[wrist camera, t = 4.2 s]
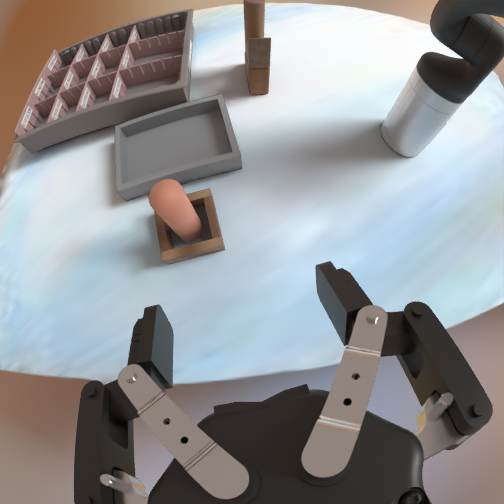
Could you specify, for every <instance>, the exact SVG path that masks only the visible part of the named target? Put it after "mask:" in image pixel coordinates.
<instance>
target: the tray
mask: <svg viewBox="0 0 504 504" xmlns="http://www.w3.org/2000/svg"><path fill="white" fill-rule="evenodd" d="M115 168H116V191H117V193H118V194H119V195H121V196H122V197H123V198H124V199H125V200H126V201H129V200H132V199H135V198H138V197H141V196H144V195H147V194H150V191H151V189H152V188H153V186H154V185H155V184H156V183H158V182H159V181H162V180H165V179H173V180H175V181H177V182H178V183H179V184H180V185H181V184H184V183H188V182H191V181H195V180H199V179H202V178H206V177H210V176H214V175H218V174H222V173H226V172H230V171H234V170H238V169H242V163H241V155H240V151H239V148H238V145H237V141H236V138H235V134H234V131H233V128H232V124H231V121H230V118H229V114H228V111H227V108H226V104H225V101H224V98H223V95H222V94H219V95H215V96H211V97H206V98H202V99H198V100H194V101H191V102H187V103H183V104H180V105H176V106H173V107H169V108H166V109H163V110H160V111H156V112H153V113H150V114H147V115H144V116H141V117H139V118H136V119H133V120H130V121H127V122H125V123H122V124H119V125H117V126H115Z"/></svg>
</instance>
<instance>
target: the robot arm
mask: <svg viewBox="0 0 504 504" xmlns="http://www.w3.org/2000/svg"><path fill="white" fill-rule="evenodd" d="M490 15H494V16H499V17H503V18H504V0H439V1H438V3H437V4H436V6H435V8H434V10H433V12H432V15H431V20H430V27H431V31H432V33H433V35H434V36H435V37H436V38H437V39H438V40H439V41H440V42H441V43H443V44H444V45H445V46H447V47H449V48H450V49H451V50H453V51H454V52H455V53H457V54H458V55H460V56H461V57H462V58H464V59H459V58H453V57H449V56H445V55H443V54H439V53H435V52H427V53H425V54H423V55H422V57H421V58H420V60H419V62H418V64H417V65H416V67H415V69H414V71H413V73H412V74H411V76H410V78H409V80H408V82H407V83H406V85H405V87H404V88H403V90H402V92H401V94H400V95H399V97H398V99H397V100H396V102H395V104H394V106H393V107H392V109H391V111H390V112H389V114H388V116H387V117H386V119H385V121H384V122H383V124H382V127H381V132H382V136H383V138H384V140H385V142H386V143H387V144H388V145H389V147H390V148H392V149H393V150H394V151H395V152H397V153H398V154H400V155H403V156H406V157H414V156H416V155H418V154H419V153H420V152H421V150H422V149H424V148H425V147H426V146H427V145H428V144H429V143H430V142H431V141H432V139H433V138H434V137H435V136H436V135H437V134H438V133H439V132H440V130H441V129H442V128H443V127H444V126H445V125H446V122H447V121H448V120H449V119H450V118H451V116H452V115H453V114H454V113H455V112H456V110H457V109H458V108H459V107H460V106H461V104H462V103H463V102H464V101H465V100H466V98H467V97H468V96H469V95H471V94H472V93H473V92H474V90H475V89H476V88H477V87H478V86H479V84H480V83H481V82H482V81H483V80H484V79H485V78H486V77H487V76H488V75H489V73H490V72H491V71H492V70H493V69H494V68H495V67H496V66H497V65H498V63H499V62H500V61H501V60H502V58H503V57H504V27H503V26H502V25H501V24H500V23H498V22H497V21H496V20H495V19H494V18H492V17H491V16H490ZM316 284H317V293H318V296H319V299H320V301H321V303H322V305H323V306H324V308H325V310H326V312H327V314H328V316H329V318H330V320H331V321H332V323H333V325H334V327H335V329H336V331H337V333H338V335H339V337H340V339H341V341H342V343H343V345H344V346H346V345H348V347H346V349H345V351H344V354H343V357H342V360H341V363H340V366H339V369H338V371H337V375H336V377H335V380H334V383H333V385H332V388H331V390H330V392H328V391H324V390H314V389H313V390H309V389H308V386H307V384H305V385H301V386H298V387H295V388H291V389H287V390H284V391H282V392H280V393H278V394H276V395H274V396H272V397H270V398H268V399H266V400H264V401H262V402H233V403H229V404H223V405H218V406H214V413H213V414H210V415H209V416H207V417H205V418H204V419H203V420H202V421H200V422H199V423H198V424H197V425H196V424H195V423H193V422H192V421H191V420H190V419H189V418H188V417H187V416H186V415H185V414H184V413H183V412H182V411H181V410H180V409H179V408H178V407H177V406H176V405H175V404H174V403H173V402H172V401H171V399H170V398H169V397H168V396H167V395H166V394H165V389H169V388H172V387H173V330H172V327H171V324H170V322H169V321H168V319H167V317H166V315H165V313H164V311H163V309H162V307H161V306H160V305H159V304H158V305H154V306H150V307H146V308H145V309H144V315H143V318H141V319H138V321H137V322H136V324H135V326H134V328H133V334H132V335H133V337H132V340H131V342H132V343H131V346H130V352H129V358H128V365H127V366H126V367H125V368H123V369H122V370H121V372H120V373H119V375H118V379H117V380H115V381H113V382H110V383H108V384H106V385H103V384H102V383H101V382H100V381H91V382H89V383H87V384H86V385H85V386H84V388H83V390H82V392H81V398H80V406H79V414H78V423H77V433H76V445H75V464H74V502H75V504H432V503H431V502H430V500H429V498H428V496H427V495H426V493H425V490H424V487H423V481H422V468H423V461H424V460H426V459H428V458H430V457H432V456H434V455H436V454H438V453H439V452H441V451H443V450H452V449H455V448H457V447H458V446H459V445H461V444H462V443H463V442H464V441H466V440H467V439H468V438H470V437H471V436H472V435H473V434H475V433H476V432H477V431H478V430H480V429H481V428H482V427H483V426H484V425H485V424H486V423H488V421H489V420H490V418H491V416H492V411H493V409H492V404H491V402H490V400H489V398H488V397H487V394H486V393H485V391H484V389H483V387H482V386H481V384H480V382H479V381H478V379H477V377H476V376H475V374H474V372H473V371H472V369H471V367H470V366H469V364H468V363H467V361H466V360H465V358H464V356H463V355H462V353H461V352H460V351H459V349H458V347H457V346H456V344H455V343H454V341H453V340H452V338H451V337H450V335H449V334H448V332H447V331H446V330H445V328H444V327H443V325H442V324H441V322H440V321H439V320H438V318H437V317H436V316H435V314H434V313H433V311H432V310H431V309H430V307H429V306H428V305H426V304H425V303H422V302H411V303H409V304H407V305H406V307H405V309H404V311H400V312H386V311H385V310H384V309H383V308H381V307H379V306H375V305H373V304H372V302H371V301H370V299H369V298H368V297H367V295H366V294H365V293H364V291H363V290H362V288H361V287H360V286H359V284H358V283H357V281H355V279H354V277H353V276H352V275H351V273H349V272H348V271H346V270H344V269H343V268H341V269H337V270H336V268H335V267H334V265H333V264H332V263H331V262H330V261H329V262H325V263H322V264H318V265H316ZM393 355H396V356H397V358H398V360H399V362H400V364H401V366H402V368H403V370H404V372H405V374H406V376H407V377H408V379H409V381H410V383H411V385H412V387H413V389H414V392H415V393H416V395H417V398H418V400H419V402H420V404H421V406H422V408H421V409H420V411H419V412H418V415H417V424H418V433H417V436H416V435H414V434H413V433H412V432H410V431H409V430H406V429H404V428H402V427H400V426H398V425H396V424H394V423H391V422H389V421H387V420H385V419H383V418H381V417H379V416H377V415H375V414H373V413H371V412H369V411H367V410H366V409H367V406H368V402H369V399H370V396H371V392H372V388H373V385H374V381H375V377H376V373H377V369H378V365H379V360H380V357H383V356H393ZM137 417H141V418H142V420H143V421H144V422H145V423H146V425H147V426H148V427H149V428H150V430H151V431H152V432H153V433H154V434H155V436H156V437H157V438H158V439H159V440H160V442H161V443H162V444H163V445H164V446H165V447H166V448H167V449H168V451H169V452H170V453H171V454H172V455H173V456H174V457H175V458H174V459H173V461H172V462H171V463H170V465H169V467H168V468H167V469H166V471H165V472H164V473H163V475H162V476H161V478H160V479H159V480H158V482H157V483H156V485H155V486H154V487H153V489H152V491H151V492H150V494H149V496H148V495H147V493H146V491H145V487H144V485H143V483H142V482H141V481H140V480H139V479H138V478H136V477H135V466H134V465H135V464H134V443H133V419H135V418H137Z"/></svg>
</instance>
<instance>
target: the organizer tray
mask: <svg viewBox="0 0 504 504" xmlns="http://www.w3.org/2000/svg"><path fill="white" fill-rule="evenodd" d="M192 19H193V9H188V10H183V11H178V12H173V13H168V14H163V15H159V16H155V17H151V18H147V19H143V20H140V21H136V22H133V23H130V24H126V25H123V26H120V27H118V28H114V29H111V30H108V31H106V32H103V33H100V34H98V35H95V36H93V37H90V38H88V39H85V40H83V41H80V42H78V43H76V44H74V45H72V46H69V47H67V48H65V49H63V50H61V51H59V52H57V51H56V50H54V51H53V53H52V55H51V56H50V58H49V59H48V61H47V63H46V65H45V66H44V68H43V70H42V72H41V74H40V76H39V78H38V80H37V82H36V84H35V85H34V88H33V90H32V92H31V94H30V96H29V98H28V100H27V102H26V105H25V107H24V109H23V112H22V114H21V116H20V119H19V122H18V124H17V126H16V129H15V133H16V134H17V135H16V138H15V141H14V143H17V142H20V143H21V144H22V145H24V146H25V147H26V148H27V149H28V150H29V151H31V152H32V153H34V152H36V151H39V150H41V149H43V148H46V147H49V146H51V145H54V144H56V143H59V142H62V141H64V140H67V139H70V138H73V137H76V136H79V135H82V134H85V133H88V132H91V131H94V130H98V129H101V128H105V127H108V126H112V125H115V124H119V123H123V122H127V121H130V120H133V119H136V118H139V117H141V116H144V115H147V114H150V113H153V112H156V111H160V110H163V109H166V108H169V107H173V106H176V105H180V104H183V103H187V102H189V99H190V76H191V58H192V44H193V32H194V28H193V23H192Z"/></svg>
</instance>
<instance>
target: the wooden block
mask: <svg viewBox="0 0 504 504" xmlns="http://www.w3.org/2000/svg"><path fill="white" fill-rule="evenodd" d="M264 12H265V0H244V24H245V51H246V52H245V66H246V72H247V78H248V85H249V91H250V94H251V95H257V94H268V91H269V71H270V68H269V67H270V50H271V38H264Z"/></svg>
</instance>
